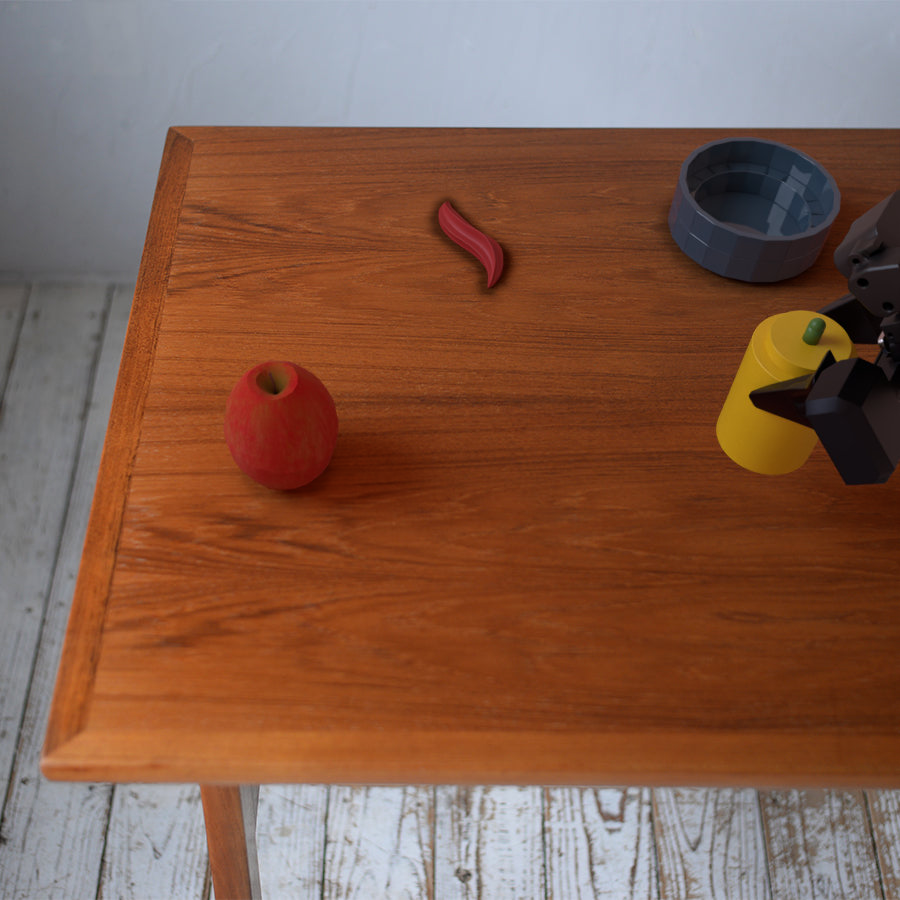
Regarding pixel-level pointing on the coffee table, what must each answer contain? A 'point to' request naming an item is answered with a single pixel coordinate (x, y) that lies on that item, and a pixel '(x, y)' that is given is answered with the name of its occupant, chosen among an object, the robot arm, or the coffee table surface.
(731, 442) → the pepper
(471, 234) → the cayenne pepper
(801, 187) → the bowl
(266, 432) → the apple
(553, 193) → the coffee table surface
